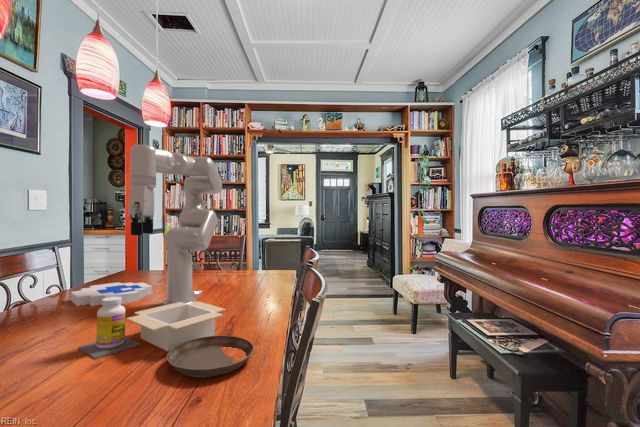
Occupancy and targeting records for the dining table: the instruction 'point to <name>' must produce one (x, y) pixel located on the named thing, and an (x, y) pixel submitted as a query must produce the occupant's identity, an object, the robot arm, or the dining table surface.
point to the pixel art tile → (111, 293)
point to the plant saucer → (208, 356)
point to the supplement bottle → (110, 323)
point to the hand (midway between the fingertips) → (142, 234)
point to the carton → (177, 323)
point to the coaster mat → (99, 352)
